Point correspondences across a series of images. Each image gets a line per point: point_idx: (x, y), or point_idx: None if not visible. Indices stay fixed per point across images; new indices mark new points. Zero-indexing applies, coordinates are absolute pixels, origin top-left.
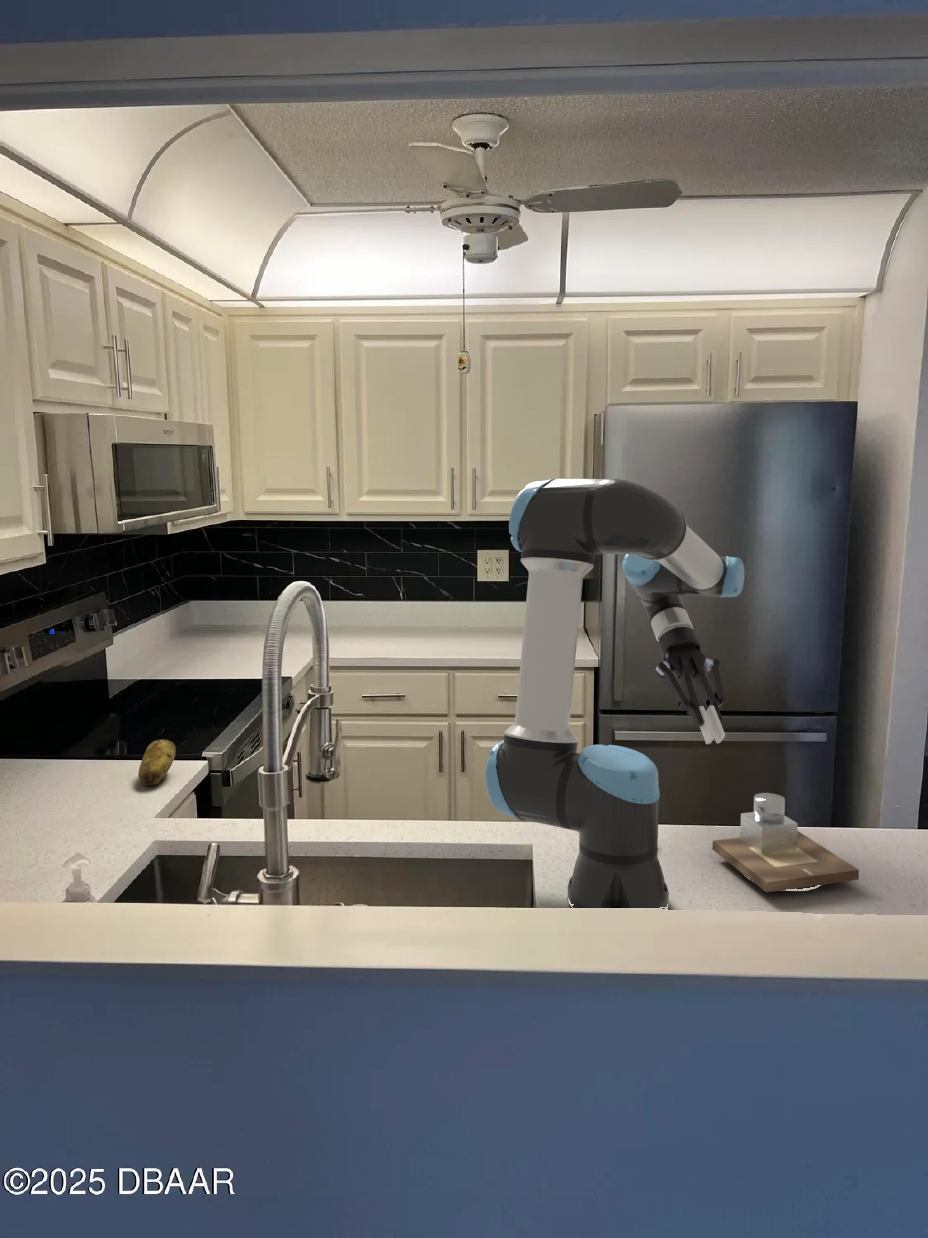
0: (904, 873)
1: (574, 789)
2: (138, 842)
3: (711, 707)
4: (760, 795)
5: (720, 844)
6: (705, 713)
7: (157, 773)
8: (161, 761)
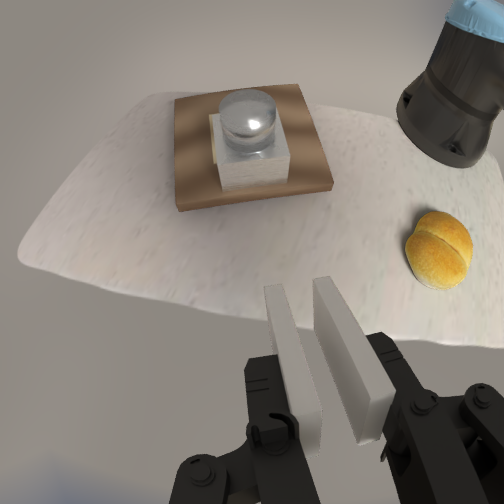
0: (104, 148)
1: None
2: None
3: (313, 398)
4: (259, 116)
5: (325, 168)
6: (358, 357)
7: None
8: None
